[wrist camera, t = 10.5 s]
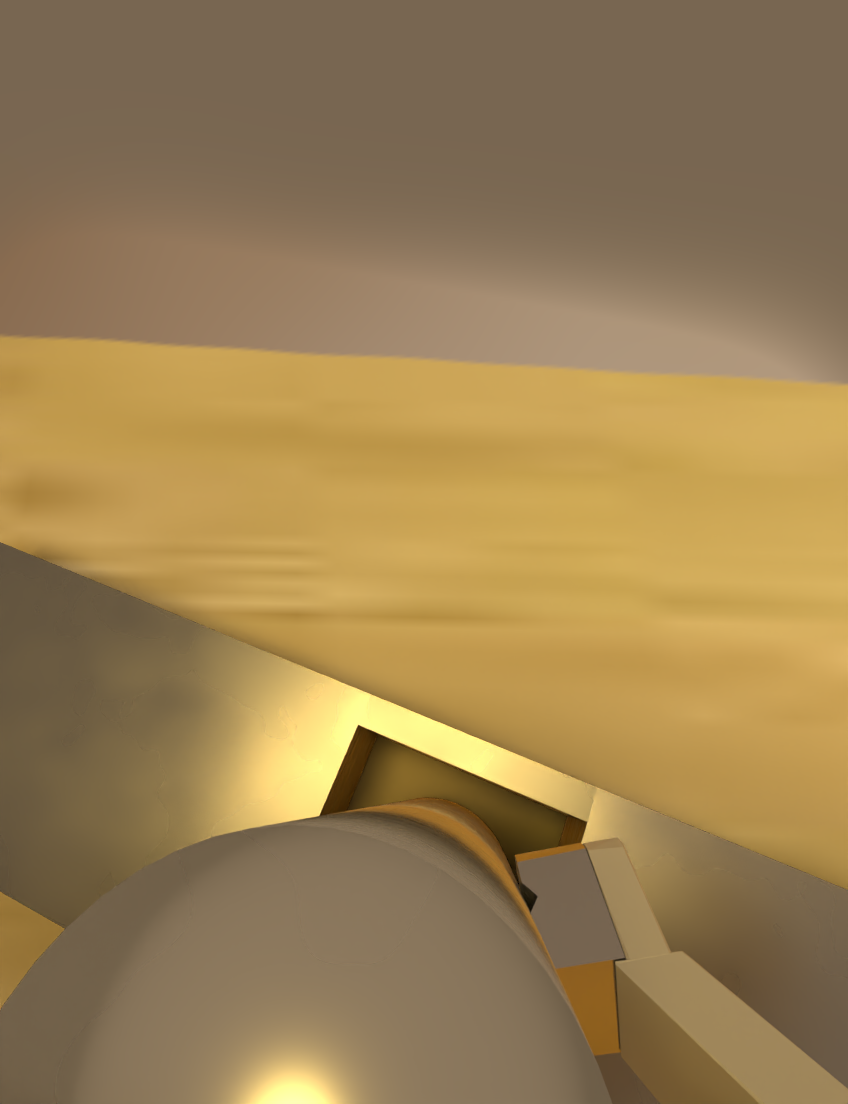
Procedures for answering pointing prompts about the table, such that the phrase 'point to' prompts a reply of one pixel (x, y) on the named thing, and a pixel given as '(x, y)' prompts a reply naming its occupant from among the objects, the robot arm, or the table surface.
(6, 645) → the grey slab
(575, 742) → the table surface
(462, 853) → the pin
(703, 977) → the robot arm
